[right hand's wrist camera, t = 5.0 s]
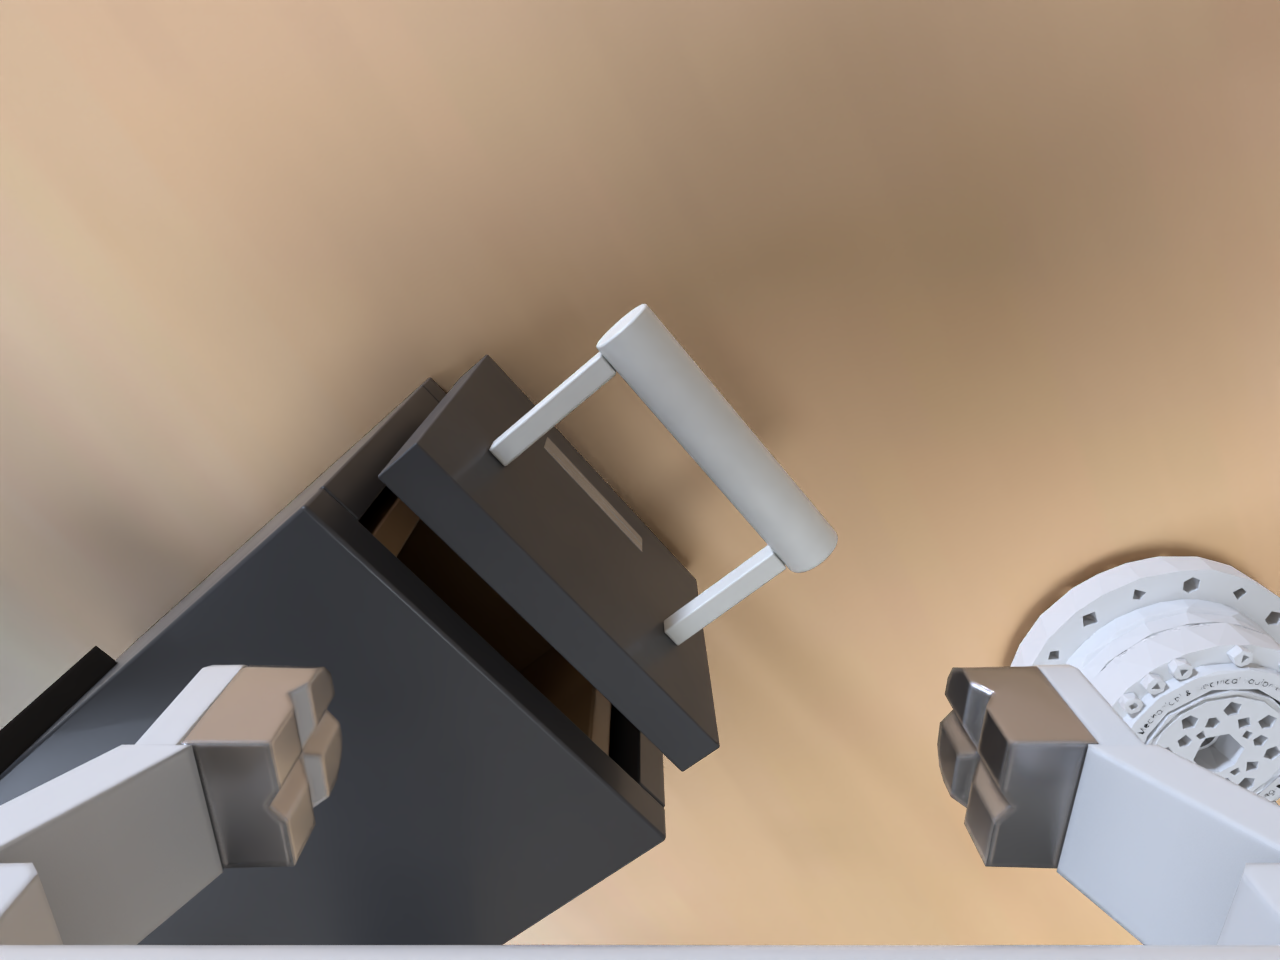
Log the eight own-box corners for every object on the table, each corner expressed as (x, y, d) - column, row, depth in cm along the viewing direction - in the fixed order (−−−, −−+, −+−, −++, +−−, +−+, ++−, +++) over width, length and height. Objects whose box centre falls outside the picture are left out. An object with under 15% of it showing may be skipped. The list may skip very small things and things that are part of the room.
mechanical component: (947, 673, 30) (1099, 820, 32) (996, 755, 26) (1167, 916, 28) (1183, 495, 27) (1328, 671, 30) (1281, 555, 23) (1439, 752, 26)
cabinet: (430, 376, 26) (303, 505, 16) (657, 612, 29) (667, 840, 19) (132, 643, 29) (-121, 882, 20) (363, 827, 33) (245, 1111, 23)
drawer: (616, 239, 23) (605, 276, 15) (820, 488, 26) (899, 628, 18) (192, 615, 28) (16, 792, 20) (407, 792, 31) (327, 1009, 23)
